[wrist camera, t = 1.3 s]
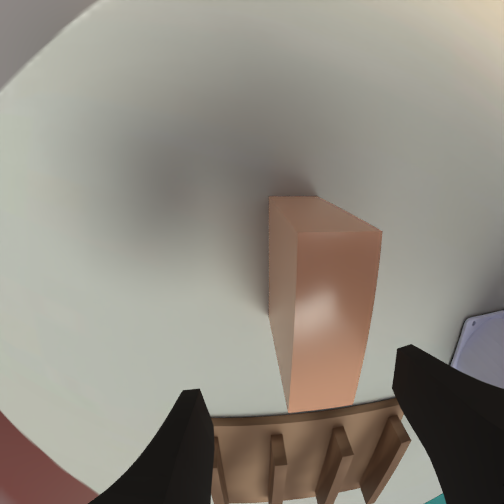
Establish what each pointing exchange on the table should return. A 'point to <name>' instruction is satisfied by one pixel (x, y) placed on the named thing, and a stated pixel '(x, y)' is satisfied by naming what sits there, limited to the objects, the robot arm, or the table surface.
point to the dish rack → (308, 454)
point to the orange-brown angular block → (320, 298)
